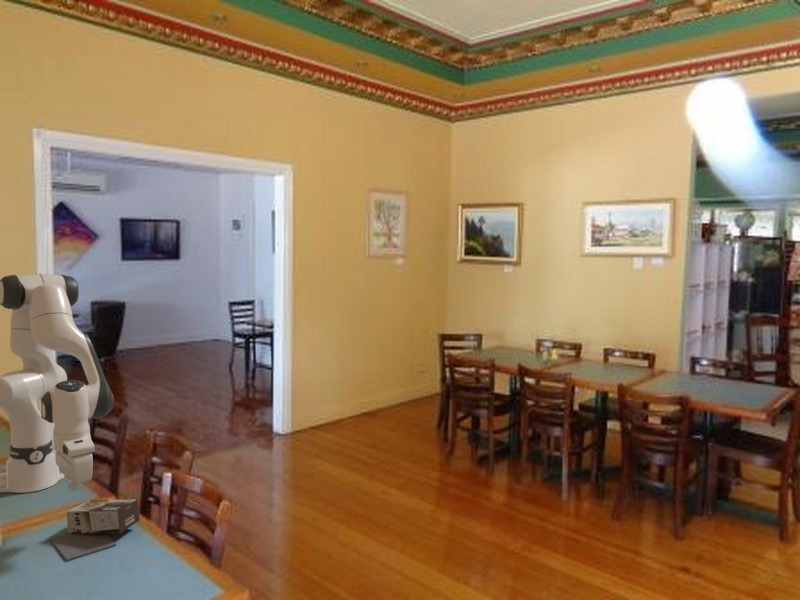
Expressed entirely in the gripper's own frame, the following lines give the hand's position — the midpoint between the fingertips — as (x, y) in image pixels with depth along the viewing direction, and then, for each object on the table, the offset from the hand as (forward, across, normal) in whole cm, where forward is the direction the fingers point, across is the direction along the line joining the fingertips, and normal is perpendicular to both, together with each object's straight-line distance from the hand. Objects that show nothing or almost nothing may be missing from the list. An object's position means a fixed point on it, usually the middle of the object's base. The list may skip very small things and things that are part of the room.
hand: (73, 489), depth 165 cm
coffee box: (+9, -2, +2) cm, 10 cm away
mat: (+12, +7, 0) cm, 15 cm away
